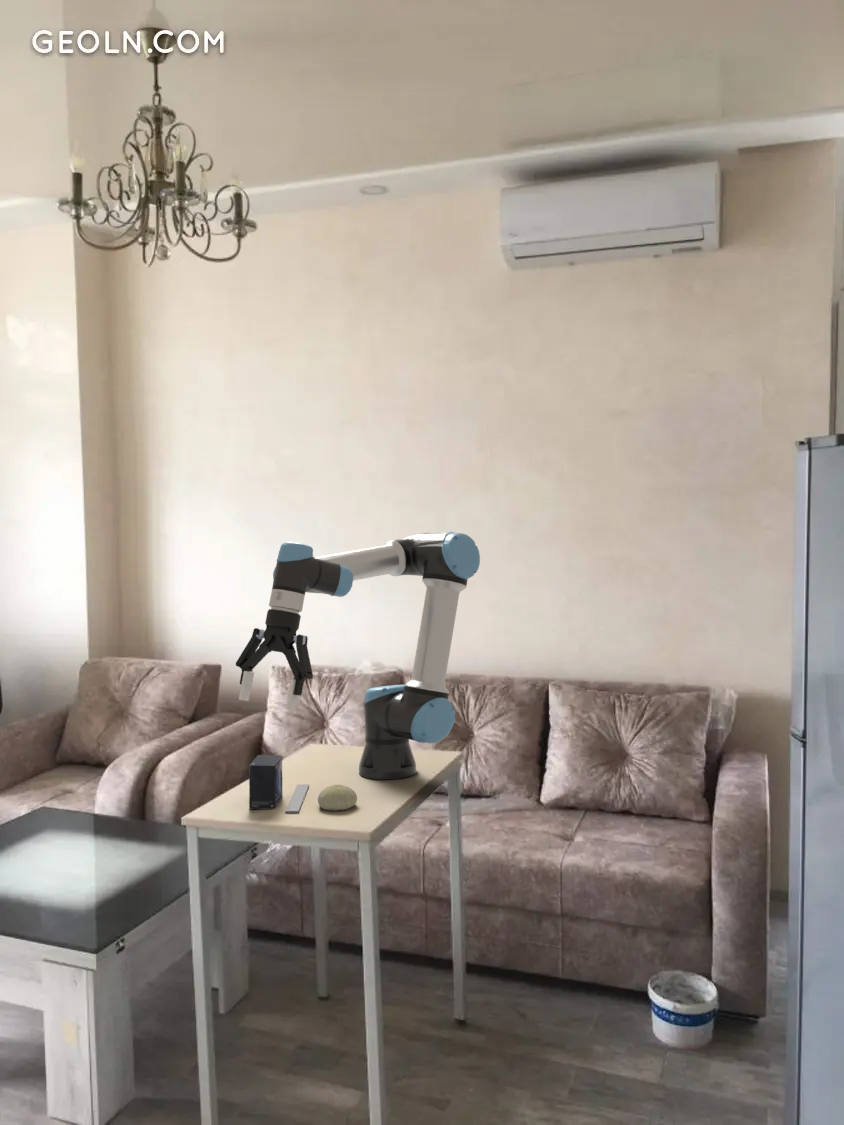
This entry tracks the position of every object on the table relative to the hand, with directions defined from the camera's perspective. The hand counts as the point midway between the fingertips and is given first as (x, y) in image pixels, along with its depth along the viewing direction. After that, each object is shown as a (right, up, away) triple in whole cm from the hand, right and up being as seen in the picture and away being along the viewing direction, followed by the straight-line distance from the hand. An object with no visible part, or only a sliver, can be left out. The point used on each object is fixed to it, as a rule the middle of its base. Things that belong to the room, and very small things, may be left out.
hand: (266, 705), depth 212 cm
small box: (-2, -26, +14) cm, 29 cm away
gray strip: (+5, -25, +17) cm, 31 cm away
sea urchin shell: (+15, -26, +11) cm, 32 cm away
